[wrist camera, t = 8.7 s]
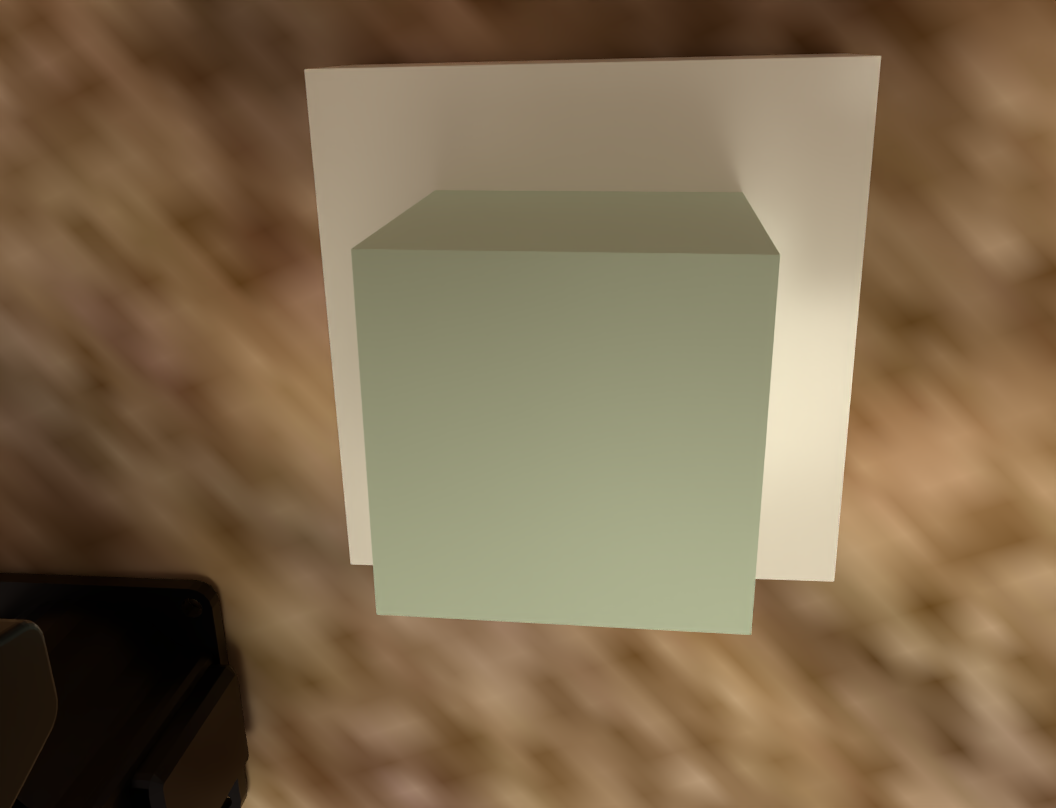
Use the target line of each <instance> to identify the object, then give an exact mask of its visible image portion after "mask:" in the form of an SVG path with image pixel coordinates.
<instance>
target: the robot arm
mask: <svg viewBox="0 0 1056 808" xmlns="http://www.w3.org/2000/svg"><path fill="white" fill-rule="evenodd" d="M188 598H191V599H195V600H197V601H198V602H199V603H200V604H201V607H202V608H201V609H200V608H196V607H194V606H193V605H192V604H190V602H189V599H188ZM248 756H249V754H248V747H247V740H246V733H245V726H244V719H243V712H242V705H241V698H240V691H239V684H238V677H237V674H236V673H235V671H234V670H233V668H232V667H231V666H230V665H229V663H228V656H227V649H226V643H225V636H224V629H223V622H222V615H221V608H220V601H219V598H218V595H217V592H216V591H215V590H214V589H213V588H212V587H211V586H210V585H208V584H207V583H205V582H202V581H197V580H178V579H152V578H125V577H99V576H73V575H47V574H21V573H0V808H241V806H242V805H243V803H244V801H245V799H246V797H247V786H246V780H245V773H244V765H245V764H246V762H247V760H248ZM227 796H229V797H230V798H228V797H227Z"/></svg>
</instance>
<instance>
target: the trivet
mask: <svg viewBox="0 0 1056 808" xmlns="http://www.w3.org/2000/svg"><path fill="white" fill-rule="evenodd" d="M880 64H881V56H875V55H861V54H847V53H841V54H798V55H755V56H712V57H669V58H626V59H583V60H540V61H497V62H455V63H412V64H369V65H347V66H335V67H324V68H312V69H304V73H305V84H306V94H307V105H308V116H309V126H310V137H311V148H312V158H313V169H314V179H315V190H316V201H317V211H318V222H319V233H320V243H321V254H322V264H323V275H324V286H325V296H326V307H327V318H328V328H329V339H330V349H331V360H332V371H333V381H334V392H335V403H336V413H337V424H338V434H339V445H340V456H341V466H342V477H343V488H344V498H345V509H346V519H347V530H348V541H349V551H350V562H351V564H356V565H373V558H372V543H371V529H370V514H369V500H368V486H367V471H366V457H365V443H364V428H363V414H362V399H361V385H360V371H359V356H358V342H357V328H356V313H355V299H354V285H353V270H352V256H351V249H352V248H353V247H355V246H356V245H358V244H359V243H360V242H362V241H363V240H365V239H366V238H368V237H369V236H370V235H372V234H373V233H375V232H376V231H378V230H379V229H380V228H382V227H383V226H385V225H386V224H388V223H389V222H390V221H392V220H393V219H395V218H396V217H398V216H399V215H400V214H402V213H403V212H405V211H406V210H408V209H409V208H410V207H412V206H413V205H415V204H416V203H418V202H419V201H421V200H422V199H423V198H425V197H426V196H428V195H429V194H431V193H432V192H433V191H435V190H474V191H623V192H743V194H744V195H745V197H746V199H747V200H748V202H749V204H750V205H751V207H752V209H753V210H754V212H755V214H756V215H757V217H758V219H759V220H760V222H761V224H762V225H763V227H764V229H765V230H766V232H767V234H768V235H769V237H770V239H771V240H772V242H773V244H774V245H775V247H776V249H777V250H778V252H779V254H780V264H779V277H778V290H777V303H776V316H775V329H774V343H773V356H772V369H771V382H770V395H769V408H768V421H767V434H766V447H765V460H764V473H763V486H762V499H761V512H760V525H759V538H758V551H757V564H756V577H755V579H777V580H805V581H833V582H834V577H835V566H836V555H837V543H838V532H839V521H840V510H841V499H842V488H843V477H844V465H845V454H846V443H847V432H848V421H849V410H850V398H851V387H852V376H853V365H854V354H855V343H856V332H857V320H858V309H859V298H860V287H861V276H862V265H863V253H864V242H865V231H866V220H867V209H868V198H869V187H870V175H871V164H872V153H873V142H874V131H875V120H876V109H877V97H878V86H879V75H880Z"/></svg>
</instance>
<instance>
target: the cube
mask: <svg viewBox="0 0 1056 808" xmlns="http://www.w3.org/2000/svg"><path fill="white" fill-rule="evenodd" d="M351 256H352V270H353V285H354V299H355V313H356V328H357V342H358V356H359V371H360V385H361V399H362V414H363V428H364V443H365V457H366V471H367V486H368V500H369V514H370V529H371V543H372V558H373V572H374V586H375V601H376V614H377V615H396V616H414V617H432V618H451V619H469V620H488V621H506V622H524V623H543V624H561V625H579V626H598V627H616V628H634V629H653V630H671V631H690V632H708V633H726V634H745V635H751V630H752V617H753V604H754V591H755V577H756V564H757V551H758V538H759V525H760V512H761V499H762V486H763V473H764V460H765V447H766V434H767V421H768V408H769V395H770V382H771V369H772V356H773V343H774V329H775V316H776V303H777V290H778V277H779V264H780V254H779V252H778V250H777V249H776V247H775V245H774V244H773V242H772V240H771V239H770V237H769V235H768V234H767V232H766V230H765V229H764V227H763V225H762V224H761V222H760V220H759V219H758V217H757V215H756V214H755V212H754V210H753V209H752V207H751V205H750V204H749V202H748V200H747V199H746V197H745V195H744V194H743V192H623V191H474V190H435V191H433V192H432V193H431V194H429V195H428V196H426V197H425V198H423V199H422V200H421V201H419V202H418V203H416V204H415V205H413V206H412V207H410V208H409V209H408V210H406V211H405V212H403V213H402V214H400V215H399V216H398V217H396V218H395V219H393V220H392V221H390V222H389V223H388V224H386V225H385V226H383V227H382V228H380V229H379V230H378V231H376V232H375V233H373V234H372V235H370V236H369V237H368V238H366V239H365V240H363V241H362V242H360V243H359V244H358V245H356V246H355V247H353V248H352V249H351Z"/></svg>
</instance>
